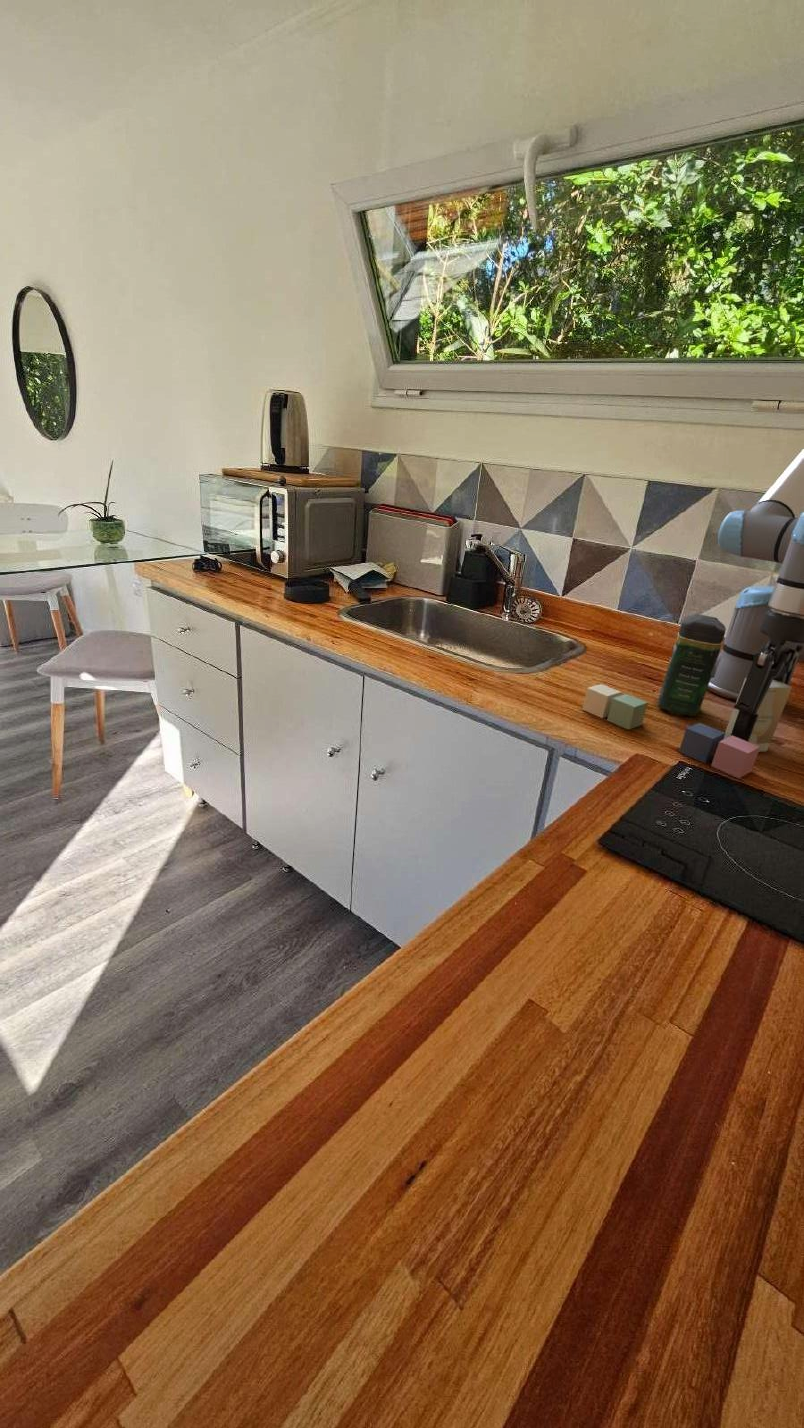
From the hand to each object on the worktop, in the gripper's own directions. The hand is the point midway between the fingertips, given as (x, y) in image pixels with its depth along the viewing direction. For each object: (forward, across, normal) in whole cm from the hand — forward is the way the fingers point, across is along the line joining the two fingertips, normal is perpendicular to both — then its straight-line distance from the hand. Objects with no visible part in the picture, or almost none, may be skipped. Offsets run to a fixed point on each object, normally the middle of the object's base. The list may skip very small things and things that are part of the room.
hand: (746, 741), depth 104 cm
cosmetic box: (+1, 0, 0) cm, 1 cm away
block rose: (+1, -11, -2) cm, 11 cm away
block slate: (+1, -11, +3) cm, 11 cm away
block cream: (+1, -11, +22) cm, 25 cm away
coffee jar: (+1, +6, +16) cm, 17 cm away
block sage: (+1, -11, +17) cm, 20 cm away
